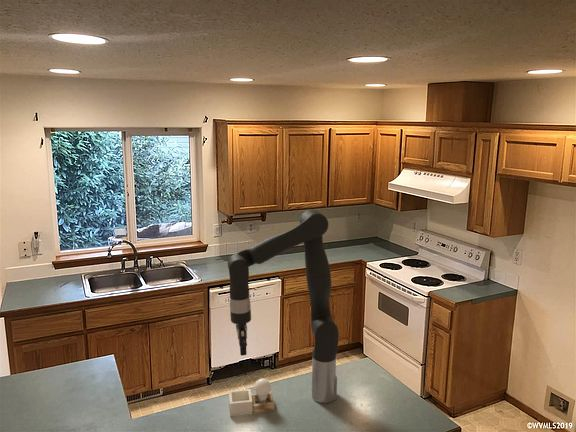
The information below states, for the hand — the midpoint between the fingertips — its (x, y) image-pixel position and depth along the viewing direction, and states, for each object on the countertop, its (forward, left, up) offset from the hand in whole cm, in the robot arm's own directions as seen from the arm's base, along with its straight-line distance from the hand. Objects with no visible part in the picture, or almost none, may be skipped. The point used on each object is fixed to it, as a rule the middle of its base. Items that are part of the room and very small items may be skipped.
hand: (242, 349), depth 171 cm
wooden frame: (-7, +1, -24) cm, 25 cm away
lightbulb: (-7, +1, -24) cm, 25 cm away
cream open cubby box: (+1, +1, -24) cm, 24 cm away
